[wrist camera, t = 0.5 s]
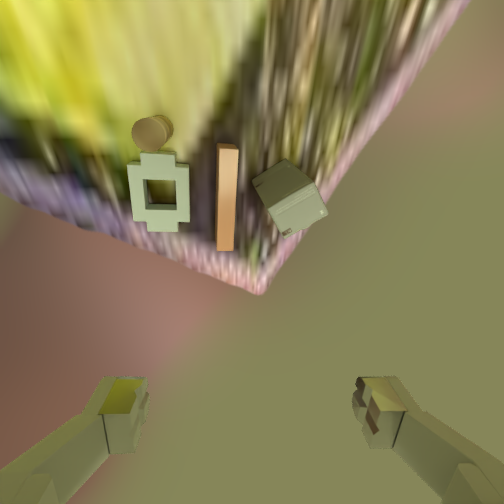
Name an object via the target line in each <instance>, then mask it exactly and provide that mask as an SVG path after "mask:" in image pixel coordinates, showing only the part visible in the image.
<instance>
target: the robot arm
mask: <svg viewBox="0 0 504 504" xmlns="http://www.w3.org/2000/svg"><path fill="white" fill-rule="evenodd" d="M355 385H356V387H357V390H356V391H355V392H354V393H353V397H352V407H353V411H354V414H355V416H356V418H357V420H358V421H359V422H360V423H362V424H363V428H362V432H363V434H364V436H365V439H366V441H367V443H368V445H369V447H370V448H386V449H387V448H388V449H389V448H390V449H393V451H394V452H395V453H396V454H397V455H398V456H399V457H400V458H401V459H402V460H403V461H404V462H405V463H407V465H408V466H409V467H410V468H411V469H412V470H413V471H414V472H416V473H417V475H418V476H419V477H420V478H421V479H422V480H423V481H425V483H427V484H428V486H430V488H431V489H433V491H435V492H436V493H437V494H438V495H439V496H440V497H441V498H442V501H441V504H504V464H503V463H502V462H501V461H500V460H498V459H497V458H495V457H494V456H492V455H491V454H489V453H488V452H486V451H485V450H483V449H482V448H480V447H479V446H478V445H476V444H475V443H473V442H472V441H470V440H468V439H467V438H466V437H464V436H462V435H461V434H460V433H458V432H456V431H455V430H454V429H452V428H451V427H449V426H448V425H446V424H444V423H443V422H441V421H440V420H439V419H437V418H436V417H434V416H433V415H431V414H430V413H428V412H423V411H422V410H421V408H420V407H419V405H418V404H417V403H416V402H415V400H414V399H413V397H412V396H411V394H410V393H409V392H408V390H407V389H406V387H405V386H404V385H403V384H402V382H401V381H400V379H399V378H398V377H396V376H383V377H382V376H369V377H358V378H357V379H356V383H355ZM147 387H148V380H147V378H146V377H123V376H120V377H109V376H105V377H104V378H103V379H102V380H101V381H100V383H99V384H98V386H97V388H96V390H95V391H94V393H93V395H92V396H91V398H90V400H89V401H88V403H87V405H86V407H85V408H84V410H83V412H82V413H81V415H76V416H74V417H73V418H72V419H70V420H69V421H67V422H66V423H65V424H63V425H62V426H61V427H59V428H58V429H56V430H55V431H54V432H52V433H51V434H50V435H48V436H47V437H45V438H44V439H43V440H41V441H40V442H39V443H37V444H36V445H34V446H33V447H32V448H30V449H29V450H28V451H26V452H25V453H24V454H22V455H21V456H19V457H18V458H17V459H15V460H14V461H12V462H11V463H10V464H8V465H7V466H6V467H4V468H3V469H1V470H0V504H65V503H66V502H67V501H68V500H69V499H70V498H71V496H73V495H74V494H75V492H76V491H77V490H78V489H79V488H80V487H81V486H82V485H83V484H84V482H86V480H87V479H88V478H89V477H90V476H91V475H92V474H93V473H94V472H95V471H96V470H97V469H98V467H99V466H100V465H101V464H102V463H103V462H104V461H105V460H106V459H107V458H108V457H109V454H123V453H124V454H125V453H135V451H136V448H137V445H138V442H139V439H140V436H141V426H142V425H143V424H144V423H145V421H146V418H147V415H148V410H149V393H148V392H146V390H147Z"/></svg>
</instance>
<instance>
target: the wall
mask: <svg viewBox="0 0 504 504" xmlns="http://www.w3.org/2000/svg"><path fill="white" fill-rule="evenodd" d="M238 151H239V150H238V149H237V147H236V146H235V145H234V144H227V143H217V157H216V204H215V239H216V247H217V251H233V242H234V223H235V205H236V187H237V169H238Z"/></svg>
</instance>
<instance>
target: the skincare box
mask: <svg viewBox="0 0 504 504" xmlns="http://www.w3.org/2000/svg"><path fill="white" fill-rule="evenodd" d="M252 183H253V185H254V187H255V189H256V191H257V193H258V194H259V196H260V198H261V200H262V202H263V204H264V205H265V207H266V209H267V211H268V212H269V214H270V216H271V217H272V219H273V221H274V223H275V224H276V226H277V228H278V229H279V231H280V233H281V235H282V236H283V238H284V239H286V238H287V237H289V236H291V235H293V234H295V233H296V232H298V231H300V230H304V229H306V228H308V227H309V226H310V225H311V224H312V223H314V222H316V221H317V220H319V219H321V218H323V217H325V216H326V215H328V211H327V208H326V206H325V204H324V202H323V200H322V198H321V196H320V194H319V191H318V189H317V187H316V185H315V183H314V182H313V181H312V180H311V179H310V178H309V177H307V176H306V175H305V174H304V173H303V172H302V171H300V170H299V169H298V168H297V167H296V166H294V165H293V164H292V163H291V162H290V161H289V160H287V159H284V160H283V161H281V162H279V163H277V164H276V165H274V166H272V167H271V168H269V169H268V170H266V171H264V172H263V173H261V174H260V175H258V176H257V177H256V178H254V179H253V180H252Z"/></svg>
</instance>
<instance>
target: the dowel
mask: <svg viewBox="0 0 504 504" xmlns="http://www.w3.org/2000/svg"><path fill="white" fill-rule="evenodd" d="M172 134H173V125H172V123H171V121H170V120H169V119H168V118H166V117H164V116H153V117H148V118H143V119H140V120H138V121H137V122H136V123H135V124H134V125H133V128H132V138H133V141H134V142H135V144H136V145H137V146H138V147H139V148H140V149H142V150H144V151H147V152H154V151H157V150H159V149H160V148H161V147H162V146H163V145H164V144H165V143H166V142H167V141H168V140H169V139H170V137H171V136H172Z"/></svg>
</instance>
